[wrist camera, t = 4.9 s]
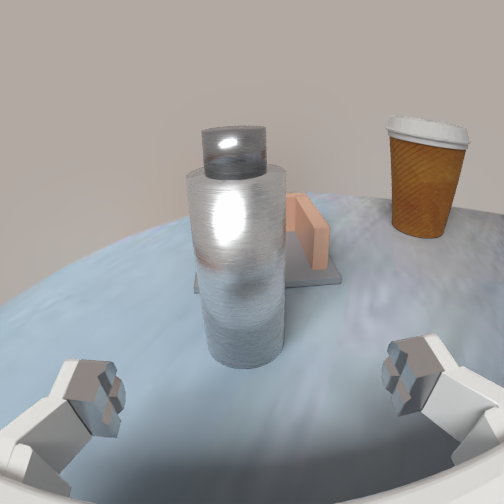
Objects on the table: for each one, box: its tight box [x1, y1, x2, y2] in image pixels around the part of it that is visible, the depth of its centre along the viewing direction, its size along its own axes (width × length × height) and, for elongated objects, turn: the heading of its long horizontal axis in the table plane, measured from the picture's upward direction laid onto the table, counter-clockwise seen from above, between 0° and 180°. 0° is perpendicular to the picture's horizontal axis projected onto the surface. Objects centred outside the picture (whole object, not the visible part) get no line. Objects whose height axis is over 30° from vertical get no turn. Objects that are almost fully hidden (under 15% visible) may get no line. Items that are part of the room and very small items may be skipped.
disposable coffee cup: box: [386, 116, 471, 238], centre depth 31 cm, size 10×10×12 cm
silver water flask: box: [186, 126, 286, 369], centre depth 16 cm, size 4×4×12 cm
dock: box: [194, 193, 342, 293], centre depth 28 cm, size 11×11×4 cm
